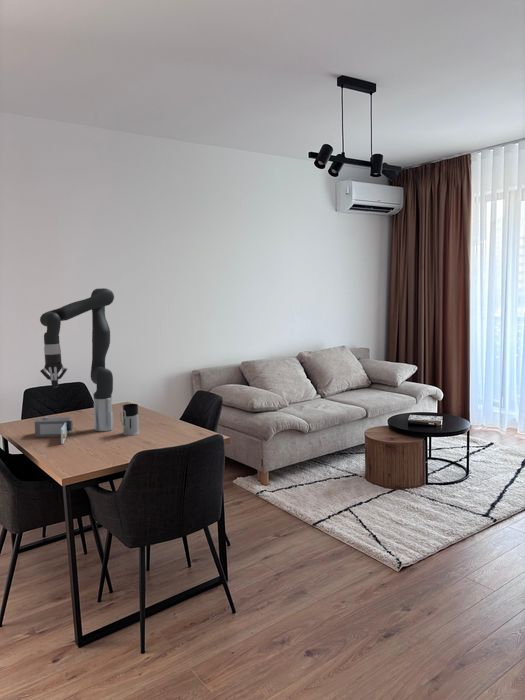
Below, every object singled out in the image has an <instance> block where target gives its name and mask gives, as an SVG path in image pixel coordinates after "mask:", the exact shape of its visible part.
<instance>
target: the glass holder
mask: <svg viewBox="0 0 525 700" xmlns="http://www.w3.org/2000/svg"><path fill="white" fill-rule="evenodd" d="M119 415H120V422H121V425H122V427H123V428H122V429H123V430H122V435H123V436H126V435H127V436H130V437H131V435H132V436H138V435H140V434H139V433H140V427H139V426H140V423H139V404H137V403H127V404H126V403H125V404H123V405H122V410H121V412H120V414H119ZM137 434H138V435H137Z"/></svg>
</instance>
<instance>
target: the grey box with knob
mask: <svg viewBox="0 0 525 700" xmlns="http://www.w3.org/2000/svg"><path fill="white" fill-rule="evenodd" d="M65 422H66V427H67V436H68V435H69V434H70V433H71V431H73V427H74V426H73V425H74V423H73V422H74V421H72V420H71V416H52V417H51V416H50V417H48V416H44V417H42V416H41V417H39V418H38V419H37V420H35V421H34V437H35V438H54V437H56V438H58V437H59V438H61V428H62V426H63V425H64V423H65Z"/></svg>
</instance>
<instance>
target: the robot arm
mask: <svg viewBox="0 0 525 700" xmlns="http://www.w3.org/2000/svg"><path fill="white" fill-rule="evenodd" d="M114 300H115V295H114V292H113V291H112V290H111V289H108V288H101V287H100V288H95V289H93V291H92V292H91V295H90V297H87V298H85V299H80V300H76V301H73V302H70V303H69V304H65V305H63V306H61V307H59V308H56V309H52V310H49V311H46V312H44V313H42V314H41V316H40V318H39V321H40V324H41V325H42V326H44V327H46V332H44V334H43V342H44V343H43V345H44V346H43V347H44V348H43V350H44V351H43V353H44V364H45V365H44V367H43V368H42V369H40V373H41V374H42V375H43V376H44V377H45V378H46V380H49V381H51V387H52V388H53V389H57V388H58V387H59V380H60V379H62V378H64V377H63V376H64V375H65V374H66V372H67V371H68V368H67V367H64V365H63V363H62V348H61V344H60V332H61V322H64V321H69V320H71V319H73V318H75V317H78V316H80V315H82V314H84V313H87V312H89V311H91V314H92V315H91V317H92V318H91V319H92V322H91V323H92V325H91V327H92V332H91V344H92V345H91V348H92V349H91V351H92V352H91V354H92V355H91V367H90V380H91V382H92V383H93V384H95V385H96V390H95V391H94V392H93V420H94V421H93V422H94V431H95V432H107V431H112V430H113V429H114V412H113V404H112V401H113V399H112V395H113V391H114V376H113V372H112V371H111V370H110V369H109V368H106V358H107V357H106V356H107V354H108V351H109V348H110V346H111V345H110V344H111V328H110V326H109V323H108V321H107V319H106V307H107V306H110V305H111V304H113V302H114ZM60 372H61V373H60ZM48 373H49V374H48ZM59 373H60V374H59Z"/></svg>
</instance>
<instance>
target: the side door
mask: <svg viewBox="0 0 525 700" xmlns="http://www.w3.org/2000/svg"><path fill="white" fill-rule="evenodd" d="M67 436H68V435H67V427H66V422H65V423H64V425H63V426H62V428H61V437H60V443H61V445H62V444H63V445H64V442H65V440H66V439H67Z"/></svg>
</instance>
